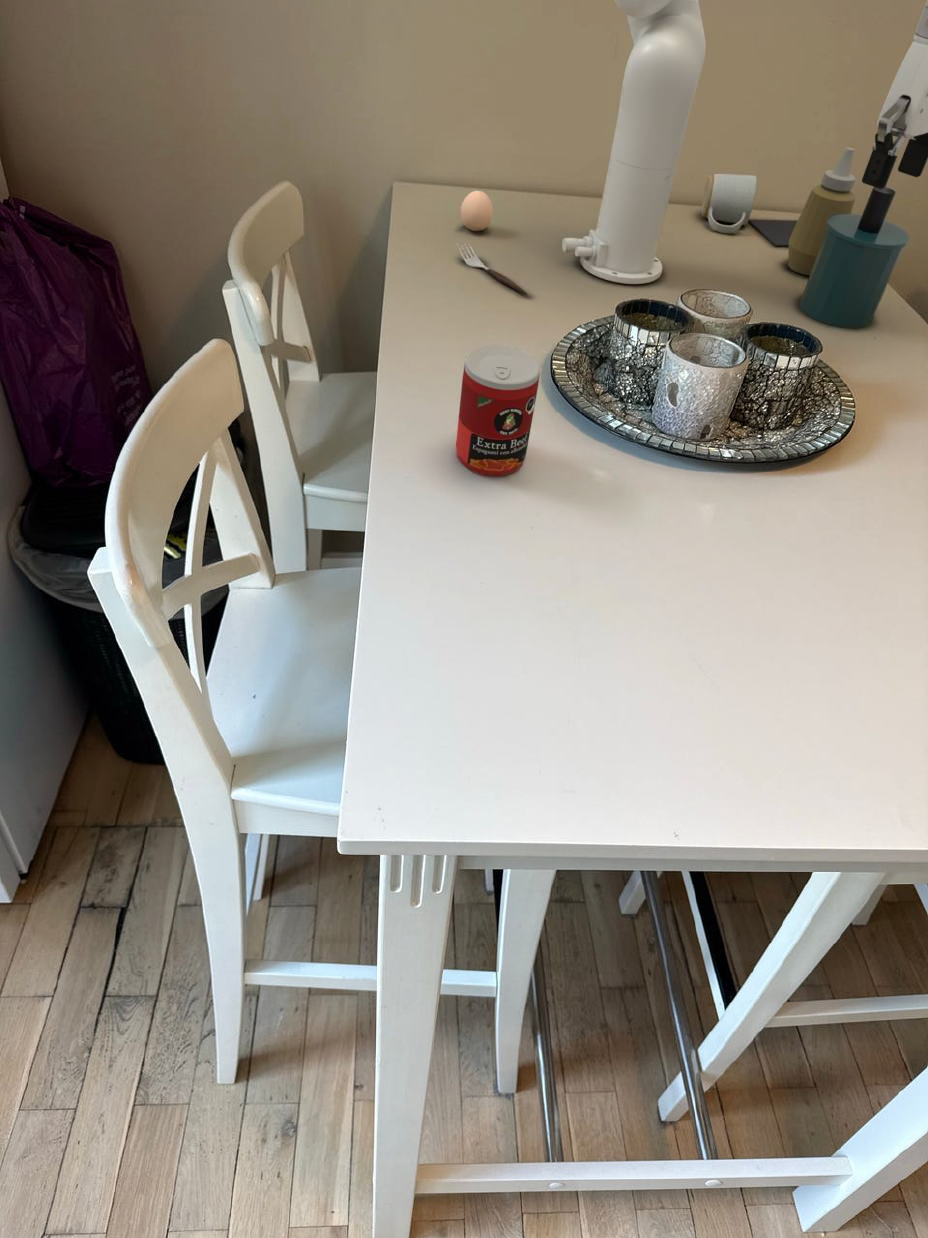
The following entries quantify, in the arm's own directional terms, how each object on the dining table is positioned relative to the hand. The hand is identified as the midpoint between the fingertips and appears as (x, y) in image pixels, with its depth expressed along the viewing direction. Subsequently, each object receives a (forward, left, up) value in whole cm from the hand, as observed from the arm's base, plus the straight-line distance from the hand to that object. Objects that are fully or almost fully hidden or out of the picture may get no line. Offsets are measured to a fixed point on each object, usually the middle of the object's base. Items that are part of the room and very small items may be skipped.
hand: (890, 179), depth 118 cm
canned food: (-61, -34, -19) cm, 72 cm away
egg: (-49, +29, -19) cm, 60 cm away
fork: (-50, +12, -19) cm, 55 cm away
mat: (+7, +30, -19) cm, 36 cm away
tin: (0, 0, -19) cm, 19 cm away
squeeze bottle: (+3, +15, -19) cm, 24 cm away
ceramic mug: (-3, +34, -19) cm, 39 cm away
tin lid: (0, 0, -7) cm, 7 cm away
